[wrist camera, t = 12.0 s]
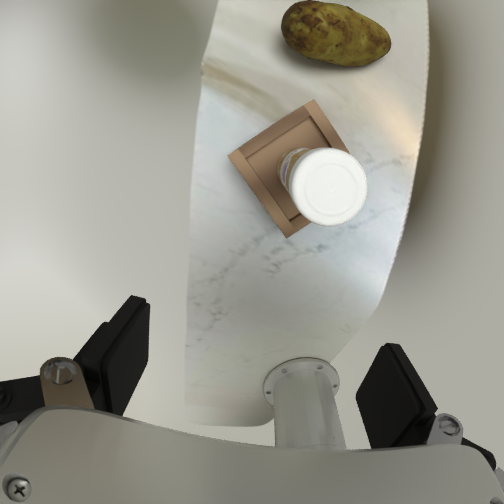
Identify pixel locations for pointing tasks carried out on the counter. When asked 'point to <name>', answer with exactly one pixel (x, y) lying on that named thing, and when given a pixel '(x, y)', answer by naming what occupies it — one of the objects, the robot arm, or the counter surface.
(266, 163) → the wooden box
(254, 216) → the counter surface
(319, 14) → the potato
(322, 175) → the sprinkles bottle
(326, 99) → the counter surface
